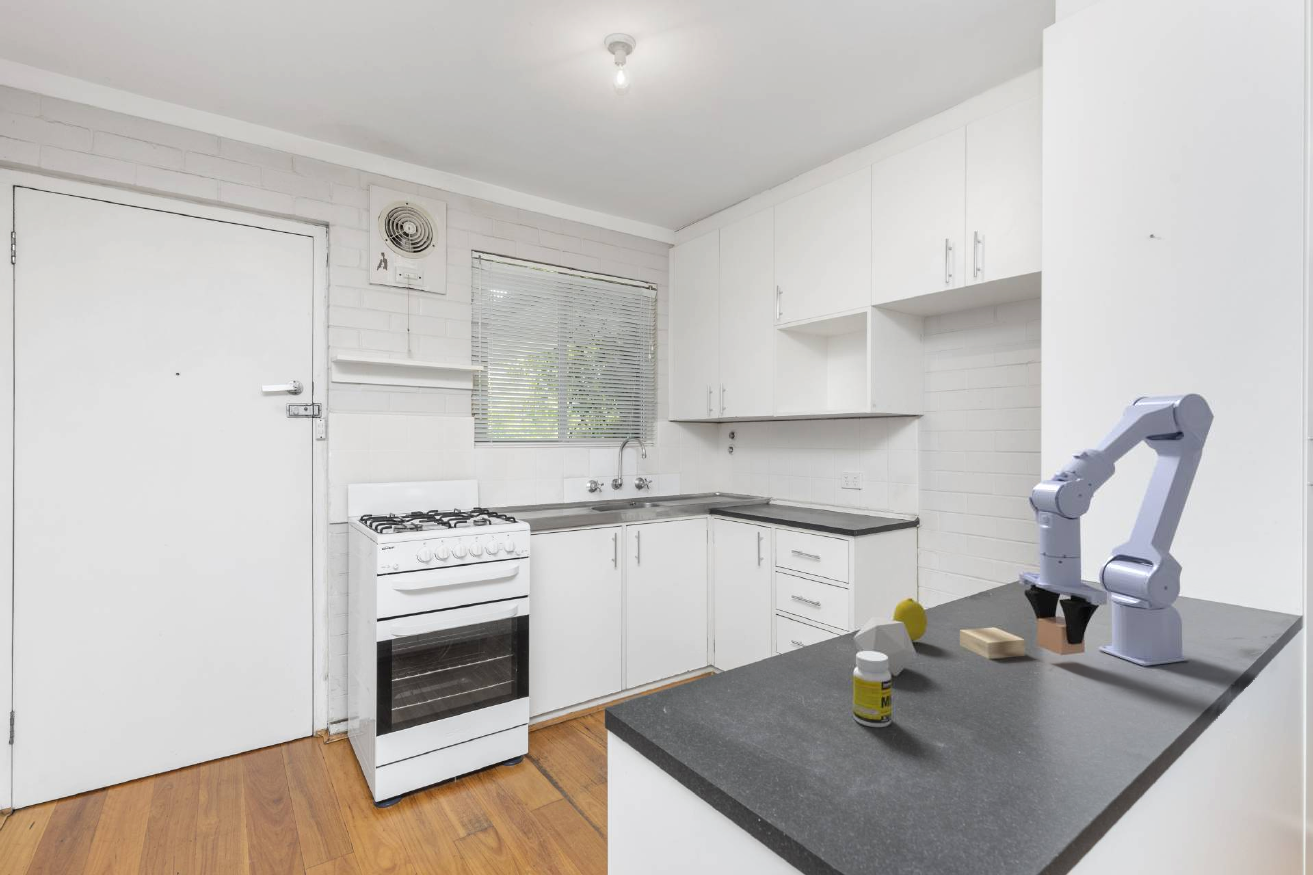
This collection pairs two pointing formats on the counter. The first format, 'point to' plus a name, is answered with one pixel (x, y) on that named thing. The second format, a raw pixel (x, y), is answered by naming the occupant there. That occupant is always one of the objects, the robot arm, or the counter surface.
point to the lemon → (911, 618)
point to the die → (887, 642)
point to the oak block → (992, 643)
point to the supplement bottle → (872, 689)
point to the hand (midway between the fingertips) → (1060, 638)
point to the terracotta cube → (1056, 636)
